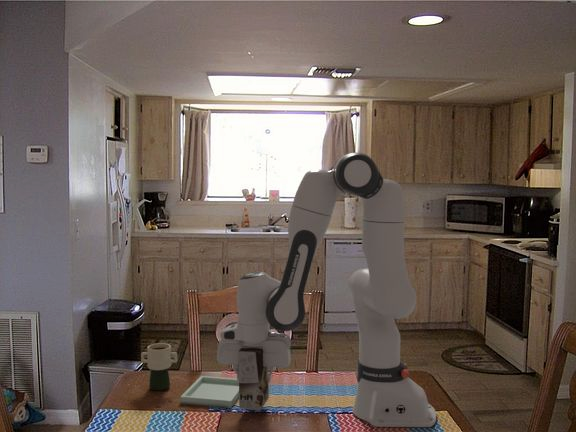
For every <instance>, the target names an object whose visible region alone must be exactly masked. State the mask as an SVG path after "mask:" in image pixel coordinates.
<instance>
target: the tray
mask: <svg viewBox="0 0 576 432" xmlns="http://www.w3.org/2000/svg"><path fill="white" fill-rule="evenodd" d="M179 398H180V404H181V405H192V406H193V405H194V406H204V407H206V406H207V407H214V408H215V407H217V408H227V409H231V408H233V406H234V405H235V403H236V402H237V400H239V380H237V378H233V377H224V376H223V377H221V376H209V375H200V376H199V378H197V379H196V380H195V381H194V382H193V383H192V384H191V385H190V386H189V388H187V389H186V390H185V391H184V393H183V394H181V396H180V397H179Z"/></svg>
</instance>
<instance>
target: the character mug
mask: <svg viewBox="0 0 576 432" xmlns="http://www.w3.org/2000/svg"><path fill="white" fill-rule="evenodd" d="M146 350H147V351H143V352H141V354H140V357H141V358H140V361H141V363H143V364H147V368H148V369H149V370H150V376H149V386H148V388H149V389H150V390H154V391H162V390H163V391H164V390H165V389H168V388H169V387H171V381H170V380H171V379H170V374H169V369H168V368H170V367H171V365H172V364H176V363H178V353H177V352H176V351H172V345H171V344H169V343H165V342H159V343H157V342H156V343H153V344H152V343H151V344H149V345H148V346H147V349H146ZM145 356H146V357H147V359H145ZM172 356H173V359H172Z"/></svg>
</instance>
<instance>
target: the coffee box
mask: <svg viewBox="0 0 576 432" xmlns="http://www.w3.org/2000/svg"><path fill="white" fill-rule="evenodd" d="M238 352H239V367H238V368H239V398H238V408H239V409H240V410H251V411H262V409H263V407H264V406H265V405H266V403H267V401H268V400H269V398H270V397H269V396H270V391H269V390H270V388H269V387H270V386H269V385H270V382H265V375H266V374H269V370H268V367H264V366H263V349H260V348H241V349H240V350H239V351H238Z"/></svg>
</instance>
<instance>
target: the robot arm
mask: <svg viewBox="0 0 576 432" xmlns="http://www.w3.org/2000/svg"><path fill="white" fill-rule="evenodd" d="M344 194H346V195H347V194H348V195H354V196H356V197H360V199H361V201H362V206H363V214H362V215H363V216H362V231H361V232H362V233H361V234H362V237H361V238H362V239H361V250H362V253H363V254H364V256H365V260H366V263H367V268H360V269H357V270H356V271H355V272H353V273H352V274H351V276H350V277H349V280H348V282H347V283H348V284H347V285H348V286H347V288H348V293H349V294H350V297H351V299H352V302H353V306H354V312H355V316H356V323H357V329H358V336H359V338H358V347H359V348H358V359H357V365H356V380H357V387H356V388H357V389H356V394H355V398H354V403H353V407H352V409H351V410H352V413H353V415H354V416H356V417H357V418H358V419H361V420H363V421H366V422H367V423H369V424H370V425H371V426H373V427H377V428H378V427H379V428H430V427H433V426H434V425H435V424H436V422H437V412H436V409H435V408H434V407H433V406H432V405H431V404H430V403H429V401H428V398H427V394H426V392H425V390H424V388H423V387H421V386H420V385H419V384H418V383H416V382H415V381H413V380H412V379H411V378H410V371H409V369H408V366H407V364H406V362H404V363H403V362H402V361H401V333H400V330H399V328H398V326H397V325H396V321H395V319H396V320H400V319H401V320H402V319H404V318H407V317H409V316H410V315H411V314H412V313H413V311H414V310H415V308H416V305H417V300H418V298H417V293H416V290H415V289H414V287H413V286H412V283H411V280H410V277H409V273H408V269H407V265H406V264H407V263H406V259H405V248H404V247H405V220H406V218H405V217H406V213H405V212H406V210H405V200H404V197H405V196H404V191H403V188H402V186H401V185H400V184H399V183H398V182H397V181H395V180H392V179H388V178H387V179H385V178H383V176H382V174H381V172H380V170H379V168H378V166H377V164H376V163H375V161H374V160H373V159H372V158H371V156H369V155H368V154H365V153H362V152H351V153H350V152H349V153H347V154H344V155H343V156H342V157H340V158H339V160H338V161H336V163H335V164H334V165H333V166H332V167H331V168H330V169H329V170H324V169H311V170H309V171H307V172H306V173H305V174H304V175H303V177H302V179H301V181H300V183H299V186H298V187H297V190H296V192H295V196H294V198H293V201H292V204H291V208H290V213H289V218H288V226H287V227H288V228H287V232H288V233H287V236H288V255H287V260H286V263H285V265H284V271H283V274H282V276H281V277H282V278H281V280H278V279H276V278H274V277H272V276H270V275H269V274H268V273H266V272H265V271H253V272H249V273H247V274H244V275H243V276H242V277H240V279H239V280H238V281H237V289H236V307H237V310H238V316H237V317H236V318H237V319H236V322H237V323H234V324H229V325H227V326H226V327H224V328H223V329H222V330H221V332H220V333H219V335H220V337H219V338H220V340H219V342H218V345H217V349H216V351H217V352H216V360H217V362H218V363H219V364H220V365H232V369H233V371H234V373H235V374H236V379H237V380H239V352H238V351H239V350H240V349H241V348H260V349H263V366H264V367H268V374H266V375H265V382H269V383H271V382H272V375H273V373H274V371H275V369H276V368H281V369H285V368H287V367H288V366H289V365H290V364H291V359H292V357H291V346H292V338H291V337H290V336H289V335H288V334H286V333H285V332H290V331H294V330H296V329H297V328H299V327H300V326H301V325H302V323H303V322H304V320H305V317H306V307H305V301H304V293H305V290H306V287H307V286H306V285H307V281H308V278H309V274H310V271H311V267H312V263H313V260H314V258H315V255H316V252H317V251H318V249H319V246H320V245H321V243H322V241H323V239H324V237H325V234H326V233H327V230H328V228H329V225H330V223H331V220H332V216H333V213H334V209H335V206H336V203H337V201H338V199H339V198H340V197H341V196H343V195H344ZM270 326H271V327H272V328H273V329H275V330H278V331H281V332H274V331H273V332H272V331H271V330H270V328H271V327H270Z"/></svg>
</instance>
